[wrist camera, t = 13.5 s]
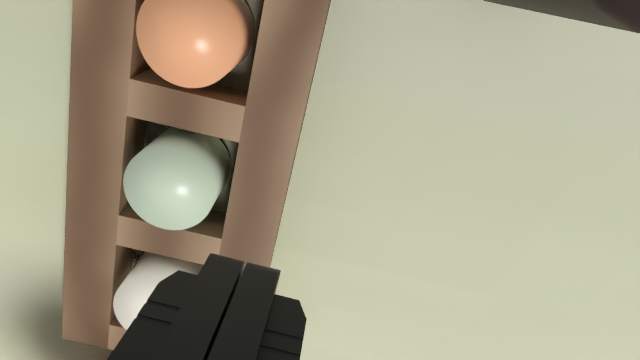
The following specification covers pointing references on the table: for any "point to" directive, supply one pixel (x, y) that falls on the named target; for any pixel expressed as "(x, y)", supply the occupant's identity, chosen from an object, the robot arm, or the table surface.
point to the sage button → (177, 178)
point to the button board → (184, 113)
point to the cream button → (146, 283)
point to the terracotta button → (194, 38)
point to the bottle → (586, 11)
